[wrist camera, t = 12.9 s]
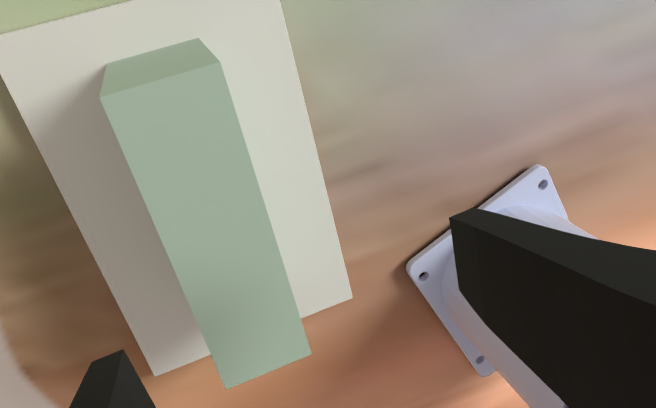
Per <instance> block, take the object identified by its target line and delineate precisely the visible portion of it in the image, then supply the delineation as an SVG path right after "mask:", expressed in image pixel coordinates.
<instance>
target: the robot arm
mask: <svg viewBox="0 0 656 408" xmlns="http://www.w3.org/2000/svg"><path fill="white" fill-rule="evenodd" d="M541 181H542V183H541V185H540V186H538V185H539V183H540V182H541ZM449 220H450V227H451V229H450V230H448V231H447V232H446V233H444V234H443V235H442V236H440V237H439V238H438V239H436V240H435V241H434V242H433V243H431V244H430V245H429V246H427V247H426V248H425V249H423V250H422V251H421V252H420V253H418V254H417V255H416V256H414V257H413V258H412V259H411V260H410V261H409V262H408V263H407V265H406V271H407V273H408V275H409V276H410V277H411V279H412V280H413V282H414V283H415V285H416V286H417V287H418V289H419V290H420V292H421V293H422V295H423V296H424V297H425V299H426V300H427V302H428V303H429V305H430V306H431V307H432V309H433V310H434V312H435V313H436V315H437V316H438V317H439V319H440V320H441V322H442V323H443V325H444V326H445V327H446V329H447V330H448V332H449V333H450V335H451V336H452V337H453V339H454V340H455V342H456V343H457V345H458V346H459V347H460V349H461V350H462V352H463V353H464V355H465V356H466V357H467V359H468V360H469V362H470V363H471V364H472V366H473V367H474V369H475V370H476V372H477V373H478V374H479V375H480V376H481V377H486V376H489V375H490V374H492V373H493V372H494V371H495V370H497V371H498V372H499V373H500V374H501V376H502V377H503V378H504V379H505V380H506V381H507V382H508V383H509V384H510V386H511V387H512V388H513V389H514V390H515V391H516V392H517V393H518V394H519V396H520V397H521V398H522V399H523V400H524V401H525V402H526V403H527V404H528V406H529V407H530V408H656V250H649V249H642V248H637V247H631V246H626V245H621V244H616V243H611V242H607V241H602V240H599V239H597V238H596V237H594V236H592V235H591V234H589V233H587V232H585V231H584V230H582V229H580V228H579V227H577V226H575V225H574V224H572V223H570V222H569V219H568V217H567V214H566V212H565V210H564V207H563V205H562V203H561V200H560V198H559V196H558V193H557V191H556V189H555V186H554V184H553V182H552V179H551V177H550V175H549V172H548V170H547V169H546V168H545V167H543V166H541V165H539V164H538V165H534V166H532V167H530V168H529V169H528V170H526V171H525V172H524V173H522V174H521V175H520V176H519V177H517V178H516V179H515V180H513V181H512V182H511V183H509V184H508V185H507V186H506V187H504V188H503V189H502V190H500V191H499V192H498V193H496V194H495V195H494V196H493V197H491V198H490V199H489V200H487V201H486V202H485V203H483V204H482V205H481V206H479V207H478V208H472V209H469V210H467V211H464V212H462V213H459V214H457V215H454V216H452V217H449ZM422 272H425V273H424V275H423V276H421V277H419V275H420V274H421V273H422ZM69 408H156V407H155V405H154V403H153V402H152V400H151V398H150V396H149V394H148V393H147V391H146V389H145V387H144V385H143V384H142V382H141V380H140V378H139V376H138V375H137V373H136V371H135V369H134V367H133V366H132V364H131V362H130V360H129V358H128V357H127V355H126V353H125V351H124V350H120V351H118V352H115V353H113V354H110V355H108V356H106V357H103V358H101V359H98V360H96V361H93V362H92V363H91V365H90V367H89V369H88V371H87V373H86V374H85V376H84V378H83V380H82V382H81V385H80V387H79V389H78V391H77V393H76V395H75V397H74V399H73V401H72V403H71V405H70V407H69Z"/></svg>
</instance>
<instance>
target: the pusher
mask: <svg viewBox="0 0 656 408" xmlns="http://www.w3.org/2000/svg"><path fill="white" fill-rule="evenodd" d="M99 98H100V100H101V103H102V105H103V107H104V109H105V112H106V114H107V116H108V119H109V121H110V123H111V126H112V128H113V130H114V132H115V135H116V137H117V139H118V142H119V144H120V146H121V149H122V151H123V153H124V156H125V158H126V160H127V162H128V165H129V167H130V169H131V172H132V174H133V176H134V179H135V181H136V183H137V186H138V188H139V190H140V192H141V195H142V197H143V199H144V202H145V204H146V206H147V209H148V211H149V213H150V215H151V218H152V220H153V222H154V225H155V227H156V229H157V232H158V234H159V236H160V239H161V241H162V243H163V245H164V248H165V250H166V252H167V255H168V257H169V259H170V262H171V264H172V266H173V269H174V271H175V273H176V275H177V278H178V280H179V282H180V285H181V287H182V289H183V292H184V294H185V296H186V298H187V301H188V303H189V305H190V308H191V310H192V312H193V315H194V317H195V319H196V322H197V324H198V326H199V328H200V331H201V333H202V335H203V338H204V340H205V342H206V345H207V347H208V349H209V351H210V354H211V356H212V358H213V361H214V363H215V365H216V368H217V370H218V372H219V375H220V377H221V379H222V381H223V384H224V386H225V388H226V390H227V389H229V388H232V387H234V386H237V385H239V384H241V383H244V382H246V381H249V380H251V379H253V378H256V377H258V376H261V375H263V374H265V373H268V372H270V371H273V370H275V369H277V368H280V367H282V366H285V365H287V364H289V363H292V362H294V361H297V360H299V359H301V358H304V357H306V356H309V355H311V354H312V353H311V350H310V347H309V344H308V340H307V337H306V334H305V331H304V328H303V324H302V321H301V318H300V315H299V312H298V309H297V305H296V302H295V299H294V296H293V293H292V289H291V286H290V283H289V280H288V277H287V273H286V270H285V267H284V264H283V261H282V257H281V254H280V251H279V248H278V245H277V241H276V238H275V235H274V232H273V229H272V226H271V222H270V219H269V216H268V213H267V210H266V206H265V203H264V200H263V197H262V194H261V190H260V187H259V184H258V181H257V178H256V174H255V171H254V168H253V165H252V162H251V158H250V155H249V152H248V149H247V146H246V143H245V139H244V136H243V133H242V130H241V127H240V123H239V120H238V117H237V114H236V111H235V107H234V104H233V101H232V98H231V95H230V91H229V88H228V85H227V82H226V79H225V75H224V72H223V69H222V66H221V63H220V61H219V60H218V59H217V58H216V57H215V56H214V54H213V53H212V52H211V51H210V50H209V49H208V48H207V47H206V46H205V45H204V43H203V42H202V41H201V40H200V39H199V38H195V39H191V40H188V41H184V42H181V43H177V44H174V45H170V46H167V47H163V48H160V49H156V50H153V51H149V52H145V53H142V54H138V55H135V56H131V57H128V58H124V59H121V60H117V61H114V62H110V63H107V66H106V70H105V75H104V79H103V83H102V88H101V92H100V97H99Z"/></svg>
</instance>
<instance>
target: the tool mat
mask: <svg viewBox="0 0 656 408" xmlns="http://www.w3.org/2000/svg"><path fill="white" fill-rule="evenodd" d="M195 38H199V39H200V40H201V41H202V42H203V43H204V45H205V46H206V47H207V48H208V49H209V50H210V51H211V52H212V53H213V54H214V56H215V57H216V58H217V59H218V60H219V61H220V63H221V66H222V69H223V72H224V75H225V79H226V82H227V85H228V88H229V91H230V95H231V98H232V101H233V104H234V107H235V111H236V114H237V117H238V120H239V123H240V127H241V130H242V133H243V136H244V139H245V143H246V146H247V149H248V152H249V155H250V158H251V162H252V165H253V168H254V171H255V174H256V178H257V181H258V184H259V187H260V190H261V194H262V197H263V200H264V203H265V206H266V210H267V213H268V216H269V219H270V222H271V226H272V229H273V232H274V235H275V238H276V241H277V245H278V248H279V251H280V254H281V257H282V261H283V264H284V267H285V270H286V273H287V277H288V280H289V283H290V286H291V289H292V293H293V296H294V299H295V302H296V305H297V309H298V312H299V315H300V318H303V317H306V316H308V315H311V314H313V313H316V312H318V311H321V310H323V309H326V308H328V307H331V306H333V305H336V304H338V303H341V302H343V301H346V300H349V299H351V298H353V297H352V293H351V288H350V284H349V280H348V276H347V272H346V268H345V264H344V260H343V256H342V252H341V248H340V244H339V240H338V235H337V231H336V227H335V223H334V219H333V215H332V211H331V207H330V203H329V199H328V195H327V191H326V186H325V182H324V178H323V174H322V170H321V166H320V162H319V158H318V154H317V150H316V146H315V142H314V138H313V133H312V129H311V125H310V121H309V117H308V113H307V109H306V105H305V101H304V97H303V93H302V89H301V85H300V80H299V76H298V72H297V68H296V64H295V60H294V56H293V52H292V48H291V44H290V40H289V36H288V32H287V27H286V23H285V19H284V15H283V11H282V7H281V3H280V0H129V1H125V2H122V3H118V4H114V5H110V6H106V7H102V8H99V9H95V10H91V11H87V12H83V13H79V14H76V15H72V16H68V17H64V18H60V19H56V20H52V21H49V22H45V23H41V24H37V25H33V26H29V27H26V28H22V29H18V30H14V31H10V32H6V33H3V34H0V75H1V77H2V79H3V81H4V82H5V84H6V86H7V88H8V90H9V92H10V94H11V96H12V98H13V100H14V102H15V104H16V106H17V108H18V110H19V112H20V114H21V116H22V118H23V120H24V122H25V124H26V126H27V128H28V129H29V131H30V133H31V135H32V137H33V139H34V141H35V143H36V145H37V147H38V149H39V151H40V153H41V155H42V157H43V159H44V161H45V163H46V165H47V167H48V169H49V171H50V173H51V174H52V176H53V178H54V180H55V182H56V184H57V186H58V188H59V190H60V192H61V194H62V196H63V198H64V200H65V202H66V204H67V206H68V208H69V210H70V212H71V214H72V216H73V218H74V219H75V221H76V223H77V225H78V227H79V229H80V231H81V233H82V235H83V237H84V239H85V241H86V243H87V245H88V247H89V249H90V251H91V253H92V255H93V257H94V259H95V261H96V263H97V265H98V266H99V268H100V270H101V272H102V274H103V276H104V278H105V280H106V282H107V284H108V286H109V288H110V290H111V292H112V294H113V296H114V298H115V300H116V302H117V304H118V306H119V308H120V310H121V311H122V313H123V315H124V317H125V319H126V321H127V323H128V325H129V327H130V329H131V331H132V333H133V335H134V337H135V339H136V341H137V343H138V345H139V347H140V349H141V351H142V353H143V355H144V357H145V358H146V360H147V362H148V364H149V366H150V368H151V370H152V372H153V374H154V376H155V377H156V376H158V375H161V374H163V373H166V372H168V371H171V370H173V369H176V368H178V367H181V366H183V365H186V364H188V363H191V362H193V361H196V360H198V359H201V358H203V357H206V356H208V355H211V354H210V351H209V349H208V347H207V345H206V342H205V340H204V338H203V335H202V333H201V331H200V328H199V326H198V324H197V322H196V319H195V317H194V315H193V312H192V310H191V308H190V305H189V303H188V301H187V298H186V296H185V294H184V292H183V289H182V287H181V285H180V282H179V280H178V278H177V275H176V273H175V271H174V269H173V266H172V264H171V262H170V259H169V257H168V255H167V252H166V250H165V248H164V245H163V243H162V241H161V239H160V236H159V234H158V232H157V229H156V227H155V225H154V222H153V220H152V218H151V215H150V213H149V211H148V209H147V206H146V204H145V202H144V199H143V197H142V195H141V192H140V190H139V188H138V186H137V183H136V181H135V179H134V176H133V174H132V172H131V169H130V167H129V165H128V162H127V160H126V158H125V156H124V153H123V151H122V149H121V146H120V144H119V142H118V139H117V137H116V135H115V132H114V130H113V128H112V126H111V123H110V121H109V119H108V116H107V114H106V112H105V109H104V107H103V105H102V103H101V100H100V98H99V97H100V92H101V88H102V83H103V79H104V75H105V70H106V66H107V63H110V62H114V61H117V60H121V59H124V58H128V57H131V56H135V55H138V54H142V53H145V52H149V51H153V50H156V49H160V48H163V47H167V46H170V45H174V44H177V43H181V42H184V41H188V40H191V39H195Z"/></svg>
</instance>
